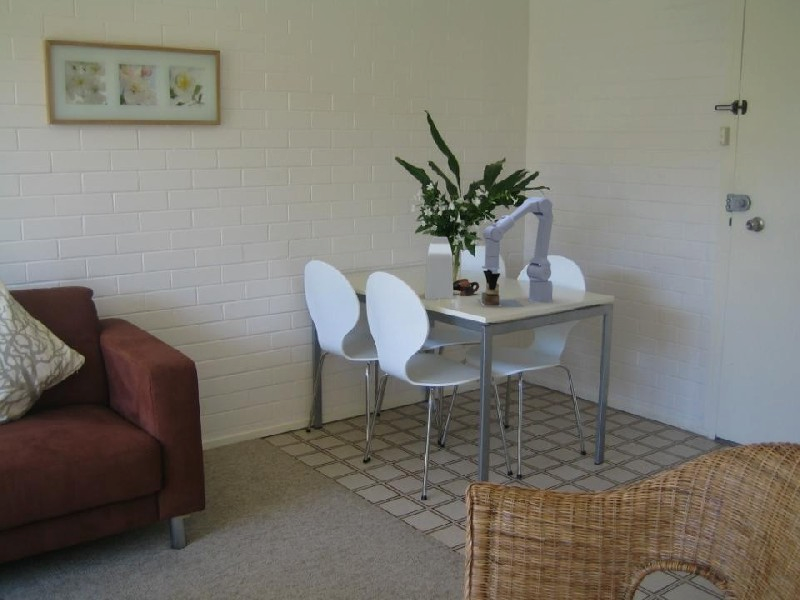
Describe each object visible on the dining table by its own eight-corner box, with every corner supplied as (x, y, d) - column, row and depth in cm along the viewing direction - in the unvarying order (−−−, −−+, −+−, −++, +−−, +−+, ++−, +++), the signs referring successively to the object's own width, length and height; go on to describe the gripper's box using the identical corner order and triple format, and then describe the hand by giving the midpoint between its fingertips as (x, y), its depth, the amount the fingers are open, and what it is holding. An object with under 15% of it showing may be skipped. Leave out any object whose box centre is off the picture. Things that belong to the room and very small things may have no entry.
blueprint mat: (515, 300, 380) (515, 299, 380) (524, 307, 362) (524, 306, 362) (476, 300, 379) (476, 299, 379) (483, 307, 361) (483, 306, 361)
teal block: (493, 302, 372) (494, 292, 372) (483, 302, 372) (483, 292, 371) (491, 300, 377) (492, 290, 376) (481, 300, 376) (481, 290, 376)
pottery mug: (454, 298, 385) (450, 280, 388) (455, 304, 394) (450, 287, 397) (481, 291, 385) (476, 274, 388) (481, 297, 394) (476, 280, 397)
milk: (425, 299, 380) (426, 238, 375) (424, 294, 391) (425, 235, 387) (453, 299, 380) (454, 238, 375) (452, 295, 391) (453, 235, 386)
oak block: (496, 292, 369) (497, 283, 368) (498, 294, 364) (499, 284, 364) (485, 292, 368) (486, 282, 368) (487, 294, 364) (488, 284, 363)
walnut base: (496, 302, 370) (496, 293, 370) (499, 305, 364) (499, 295, 364) (482, 302, 370) (482, 293, 369) (484, 305, 364) (484, 295, 363)
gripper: (479, 253, 370) (478, 285, 373) (485, 258, 356) (484, 291, 359) (496, 253, 371) (495, 285, 373) (503, 258, 357) (501, 291, 359)
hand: (491, 288), depth 366 cm, fingers closed on oak block, 4 cm apart
